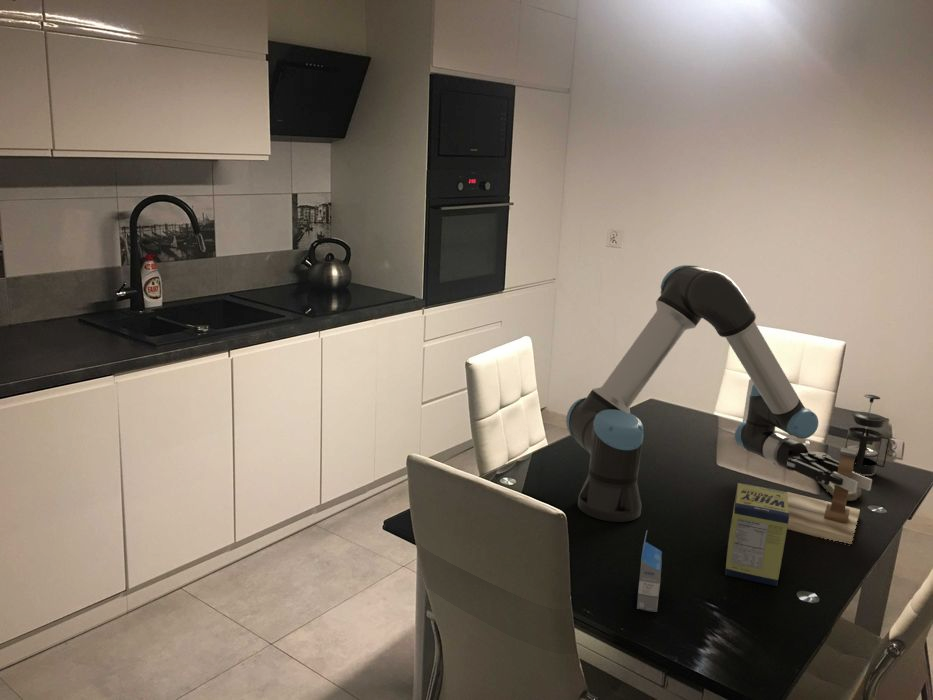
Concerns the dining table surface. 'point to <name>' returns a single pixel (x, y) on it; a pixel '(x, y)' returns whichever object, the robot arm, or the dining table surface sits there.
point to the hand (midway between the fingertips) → (862, 486)
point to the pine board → (819, 519)
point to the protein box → (757, 533)
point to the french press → (867, 439)
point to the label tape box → (649, 578)
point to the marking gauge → (840, 494)
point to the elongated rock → (831, 486)
